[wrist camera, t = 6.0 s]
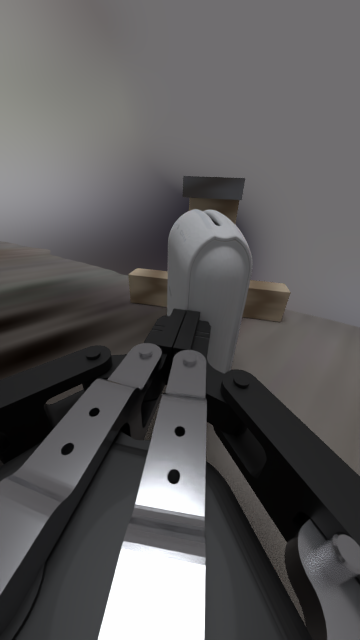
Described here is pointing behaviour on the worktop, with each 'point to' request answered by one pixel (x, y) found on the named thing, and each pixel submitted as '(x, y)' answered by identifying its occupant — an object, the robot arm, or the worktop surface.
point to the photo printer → (210, 277)
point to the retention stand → (224, 198)
